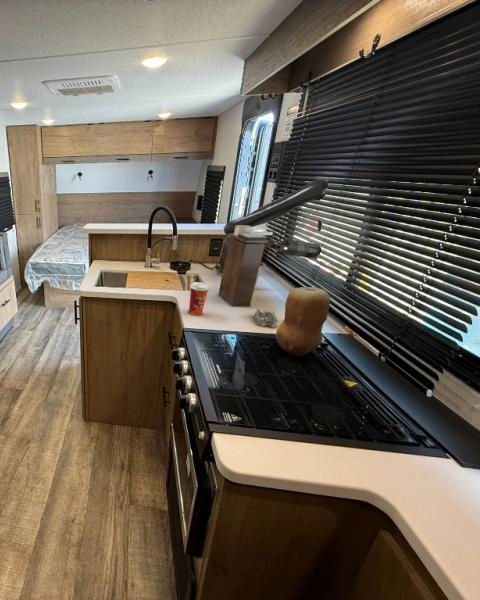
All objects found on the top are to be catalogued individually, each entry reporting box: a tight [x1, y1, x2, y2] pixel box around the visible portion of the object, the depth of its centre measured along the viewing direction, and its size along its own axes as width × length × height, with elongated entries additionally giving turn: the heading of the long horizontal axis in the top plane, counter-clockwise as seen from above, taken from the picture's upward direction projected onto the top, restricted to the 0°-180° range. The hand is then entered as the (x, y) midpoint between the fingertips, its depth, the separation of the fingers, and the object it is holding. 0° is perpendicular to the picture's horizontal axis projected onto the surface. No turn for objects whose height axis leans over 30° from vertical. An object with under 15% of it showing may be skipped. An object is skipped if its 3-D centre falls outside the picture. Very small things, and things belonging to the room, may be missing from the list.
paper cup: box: [188, 281, 210, 317], centre depth 138 cm, size 8×8×14 cm
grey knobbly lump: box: [253, 307, 279, 328], centre depth 132 cm, size 11×8×4 cm
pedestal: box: [217, 234, 269, 307], centre depth 148 cm, size 16×10×32 cm, turn 2°
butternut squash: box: [275, 286, 331, 357], centre depth 106 cm, size 14×13×25 cm
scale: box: [238, 234, 269, 241], centre depth 137 cm, size 8×10×2 cm
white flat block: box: [234, 225, 274, 236], centre depth 145 cm, size 7×18×4 cm, turn 92°
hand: (259, 242), depth 151 cm, fingers open, 8 cm apart
